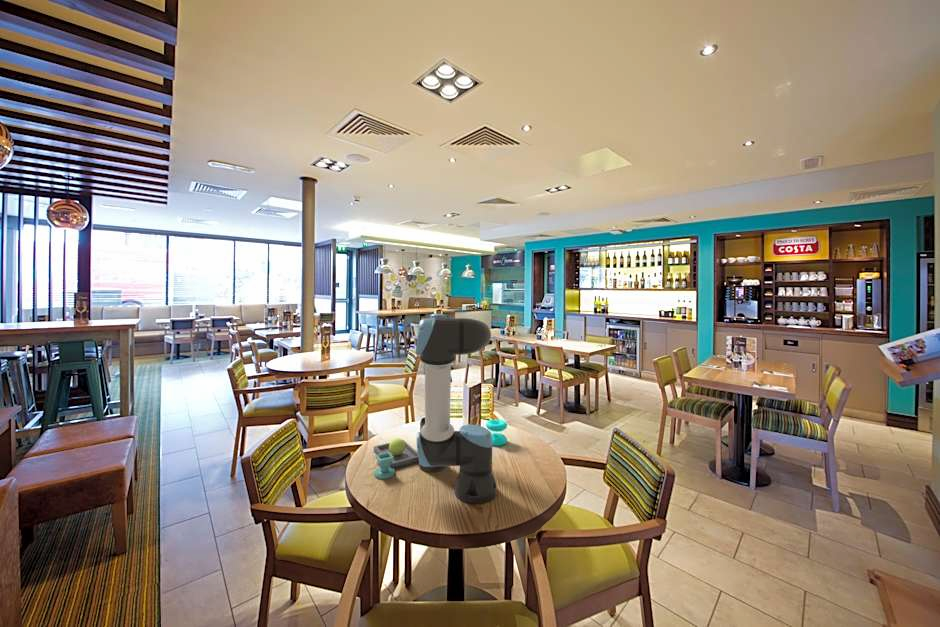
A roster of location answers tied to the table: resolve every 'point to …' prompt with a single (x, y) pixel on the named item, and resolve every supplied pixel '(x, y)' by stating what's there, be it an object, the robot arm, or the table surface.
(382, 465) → the goblet
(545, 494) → the table surface
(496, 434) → the donuts
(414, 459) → the tray
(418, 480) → the table surface
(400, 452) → the ball
